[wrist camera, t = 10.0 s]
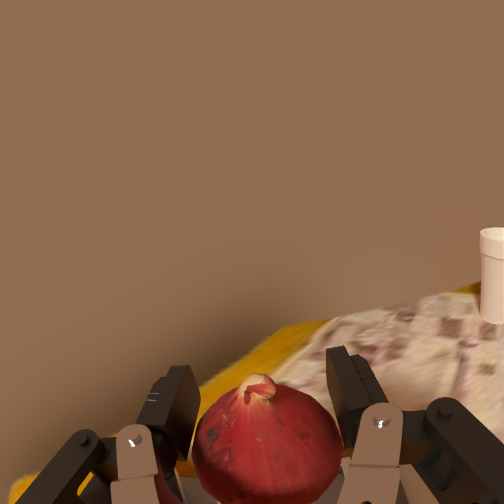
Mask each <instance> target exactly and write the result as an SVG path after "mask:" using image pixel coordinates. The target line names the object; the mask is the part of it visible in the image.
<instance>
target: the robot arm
mask: <svg viewBox="0 0 504 504" xmlns="http://www.w3.org/2000/svg"><path fill="white" fill-rule="evenodd" d="M326 377H327V386H328V390H329V394H330V397H331V400H332V404H333V407H334V411H335V414H336V418H337V421H338V425H339V428H340V432H341V435H342V439H343V442H344V446H345V449H346V448H350V447H353V449H354V451H353V455H352V459H351V462H350V465H349V467H348V470H347V474H346V477H345V480H344V483H343V486H342V489H341V492H340V495H339V498H338V501H337V504H395V503H396V498H397V492H398V487H399V481H400V474H401V467H400V466H399V465H406V464H411V465H412V466H413V468H414V469H415V471H416V472H417V473H418V475H419V476H420V477H421V479H422V480H423V482H424V483H425V484H426V486H427V487H428V489H429V490H430V491H431V493H432V494H433V495H434V497H435V498H436V500H437V501H438V502H439V504H504V444H503V443H502V442H501V441H500V440H499V439H498V438H497V437H496V436H495V435H494V434H493V433H492V432H491V431H489V430H488V429H487V428H486V427H485V426H484V425H483V424H482V423H481V422H480V421H479V420H478V419H477V418H476V417H475V416H474V415H473V414H472V413H470V412H469V411H468V410H467V409H466V408H465V407H464V406H463V405H462V404H461V403H460V402H459V401H457V400H455V399H453V398H449V397H443V398H439V399H436V400H434V401H433V402H431V403H430V405H429V406H428V408H427V410H421V411H401V410H400V408H399V407H397V406H396V405H394V404H391V403H389V402H388V400H387V398H386V396H385V394H384V392H383V390H382V388H381V386H380V384H379V382H378V381H377V379H376V377H375V375H374V373H373V371H372V370H371V367H370V366H369V364H368V362H367V360H365V359H364V358H362V357H361V356H360V355H358V354H357V355H353V356H349V354H348V352H347V350H346V348H345V346H344V345H343V346H338V347H333V348H328V349H326ZM200 402H201V398H200V392H199V389H198V386H197V383H196V381H195V378H194V375H193V372H192V370H191V367H190V366H189V365H175V366H174V365H173V366H171V367H170V369H169V371H168V373H167V376H166V377H161V378H160V379H159V380H158V381H157V382H156V383H155V384H154V385H153V387H152V389H151V391H150V394H149V395H148V397H147V401H146V402H145V404H144V406H143V408H142V410H141V412H140V414H139V416H138V418H137V421H136V423H135V424H134V425H129V426H127V427H125V428H123V429H122V430H121V431H120V432H119V433H118V435H117V437H111V438H99V437H98V436H97V434H96V433H95V432H94V431H92V430H88V429H86V430H80V431H78V432H76V433H74V434H73V435H72V436H71V437H70V439H69V440H68V441H67V442H66V443H65V445H64V446H63V447H62V448H61V449H60V450H59V451H58V453H57V454H56V455H55V456H54V457H53V459H52V460H51V461H50V462H49V463H48V465H47V466H46V467H45V468H44V469H43V470H42V472H41V473H40V474H39V475H38V476H37V478H36V479H35V480H34V481H33V482H32V484H31V485H30V486H29V487H28V488H27V490H26V491H25V492H24V493H23V494H22V496H21V497H20V498H19V499H18V500H17V502H16V503H15V504H187V501H186V498H185V495H184V492H183V489H182V485H181V482H180V479H179V475H178V472H177V470H176V468H175V465H176V461H186V460H187V456H188V452H189V448H190V444H191V440H192V436H193V431H194V427H195V423H196V419H197V415H198V411H199V407H200ZM89 472H91V473H92V474H93V475H94V476H93V477H92V479H91V480H90V481H89V483H88V484H87V486H86V487H85V488H84V490H83V491H82V493H81V494H80V495H79V496H78V495H77V490H78V488H79V486H80V485H81V483H82V482H83V481H84V479H85V478H86V477H87V475H88V474H89Z"/></svg>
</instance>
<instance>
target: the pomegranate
mask: <svg viewBox="0 0 504 504" xmlns="http://www.w3.org/2000/svg"><path fill="white" fill-rule="evenodd" d="M343 450H344V449H343V444H342V439H341V436H340V434H339V431H338V428H337V426H336V423H335V420H334V419H333V417H332V416H331V415H330V413H329V412H328V411H327V410H326V409H325V408H323V407H322V406H321V405H320V404H319V403H318V402H317V401H316V400H315V399H314V398H313V397H311V396H310V395H308V394H305V393H303V392H300V391H298V390H295V389H293V388H290V387H288V386H284V385H278V384H275V382H274V381H273V380H272V379H271V378H270V377H269V376H268V375H267V374H257V373H252V374H251V375H249V376H248V378H247V379H246V380H244V381H243V382H242V383H241V385H240V386H239V388H235V389H233V390H231V391H230V392H228V393H226V394H225V395H223V396H221V397H220V398H219V399H218V400H217V401H216V402H215V403H214V404H213V405H212V406H211V407H210V408H209V409H208V411H207V412H206V413H205V414H204V415H203V416H202V418H201V419H200V421H199V423H198V425H197V428H196V433H195V437H194V442H193V446H192V459H193V462H194V465H195V468H196V471H197V474H198V477H199V480H200V482H201V485H202V487H203V489H204V490H205V491H206V492H207V493H209V494H210V495H211V496H212V497H214V498H215V499H216V500H217V501H219V502H220V503H221V504H311V503H313V502H315V501H317V500H318V499H319V498H320V497H321V496H322V495H323V493H324V492H325V491H326V490H327V489H328V488H329V486H330V485H331V484H332V483H333V482H334V480H335V478H336V477H337V475H338V473H339V469H340V464H341V460H342V455H343Z"/></svg>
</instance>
